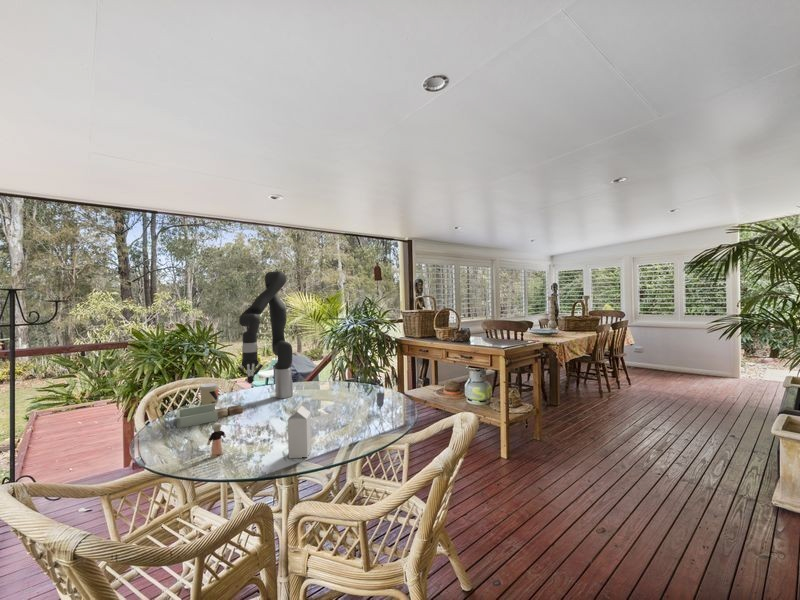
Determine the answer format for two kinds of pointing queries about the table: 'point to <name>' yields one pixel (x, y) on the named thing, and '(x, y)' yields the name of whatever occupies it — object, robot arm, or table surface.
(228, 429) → the table surface
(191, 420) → the grey-green tray
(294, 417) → the milk carton
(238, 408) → the walnut tile
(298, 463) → the table surface
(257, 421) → the table surface
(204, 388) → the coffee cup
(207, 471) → the table surface
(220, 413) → the oak tile
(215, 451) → the grandmother figurine
